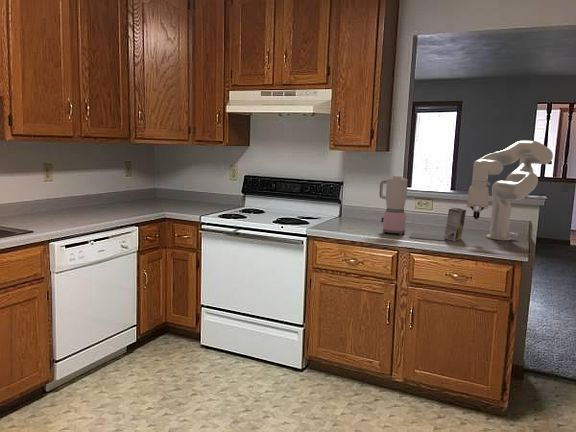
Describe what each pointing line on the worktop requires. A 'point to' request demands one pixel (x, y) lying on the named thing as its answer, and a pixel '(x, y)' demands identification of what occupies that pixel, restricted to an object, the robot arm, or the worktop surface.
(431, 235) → the mat
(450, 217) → the coffee box
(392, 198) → the blender
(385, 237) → the worktop surface
